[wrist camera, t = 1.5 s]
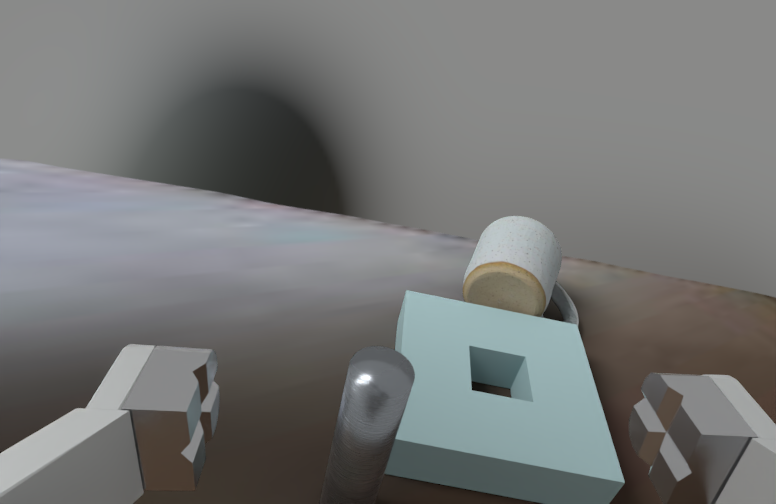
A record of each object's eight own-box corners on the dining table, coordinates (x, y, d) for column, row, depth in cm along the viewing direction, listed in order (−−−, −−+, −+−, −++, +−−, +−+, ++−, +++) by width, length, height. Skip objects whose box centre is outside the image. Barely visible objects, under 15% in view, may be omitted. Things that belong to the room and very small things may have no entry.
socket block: (382, 473, 34) (393, 438, 32) (397, 322, 46) (406, 290, 44) (601, 514, 35) (625, 482, 33) (561, 355, 46) (576, 324, 44)
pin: (312, 534, 30) (344, 389, 23) (322, 485, 33) (353, 340, 26) (366, 544, 30) (413, 402, 24) (372, 494, 33) (416, 353, 26)
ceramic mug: (448, 317, 47) (474, 245, 43) (469, 268, 54) (493, 202, 50) (568, 365, 46) (608, 296, 41) (574, 309, 52) (609, 244, 48)
